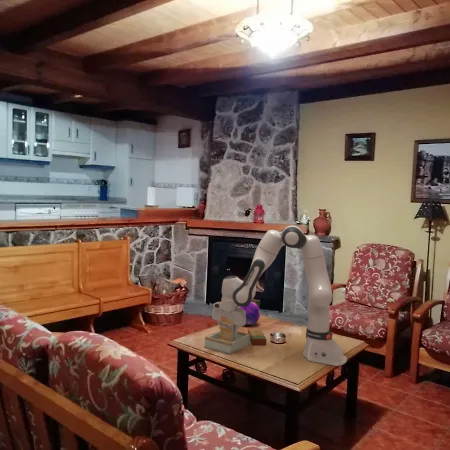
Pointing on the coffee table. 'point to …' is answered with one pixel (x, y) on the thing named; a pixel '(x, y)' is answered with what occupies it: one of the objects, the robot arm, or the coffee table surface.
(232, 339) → the supplement box
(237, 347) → the crate
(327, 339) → the robot arm
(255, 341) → the carton
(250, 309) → the decorative orb
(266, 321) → the coffee table surface
